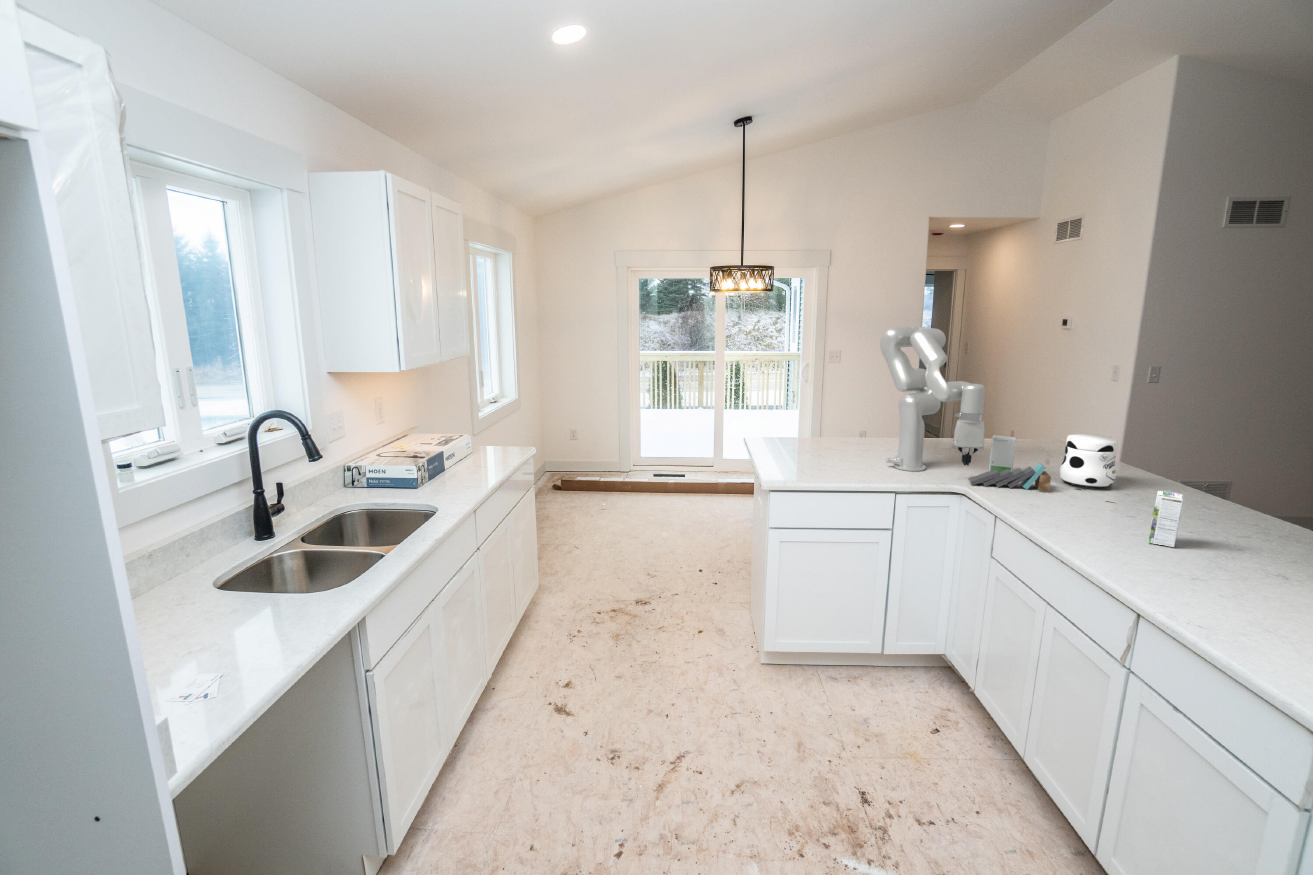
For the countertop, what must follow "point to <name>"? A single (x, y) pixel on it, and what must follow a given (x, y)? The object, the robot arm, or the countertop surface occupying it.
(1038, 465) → the domino
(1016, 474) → the tile
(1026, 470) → the tile
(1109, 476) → the spotted treat jar
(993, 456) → the skincare box
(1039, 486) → the bookend
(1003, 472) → the tile
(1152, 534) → the syrup box
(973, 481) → the tile
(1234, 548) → the countertop surface
